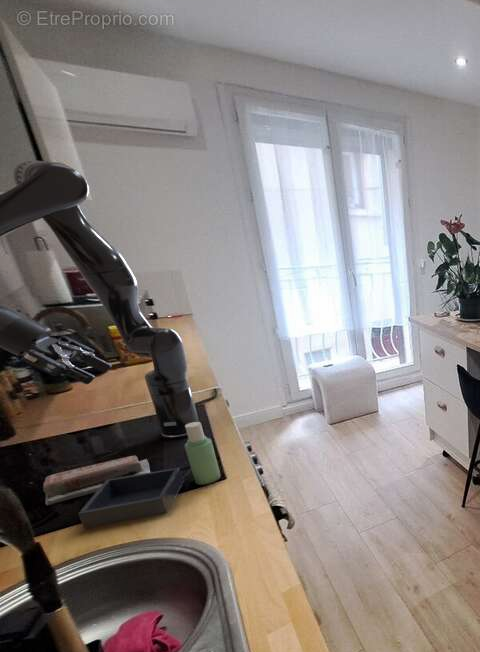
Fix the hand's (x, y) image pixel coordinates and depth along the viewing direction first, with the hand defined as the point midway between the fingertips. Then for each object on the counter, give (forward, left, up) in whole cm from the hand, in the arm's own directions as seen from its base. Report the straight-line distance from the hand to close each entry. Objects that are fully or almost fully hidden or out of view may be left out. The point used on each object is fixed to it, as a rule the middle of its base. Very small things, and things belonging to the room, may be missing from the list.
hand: (100, 374), depth 93 cm
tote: (+12, +4, -29) cm, 31 cm away
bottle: (+6, +16, -29) cm, 33 cm away
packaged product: (-2, -7, -29) cm, 30 cm away
